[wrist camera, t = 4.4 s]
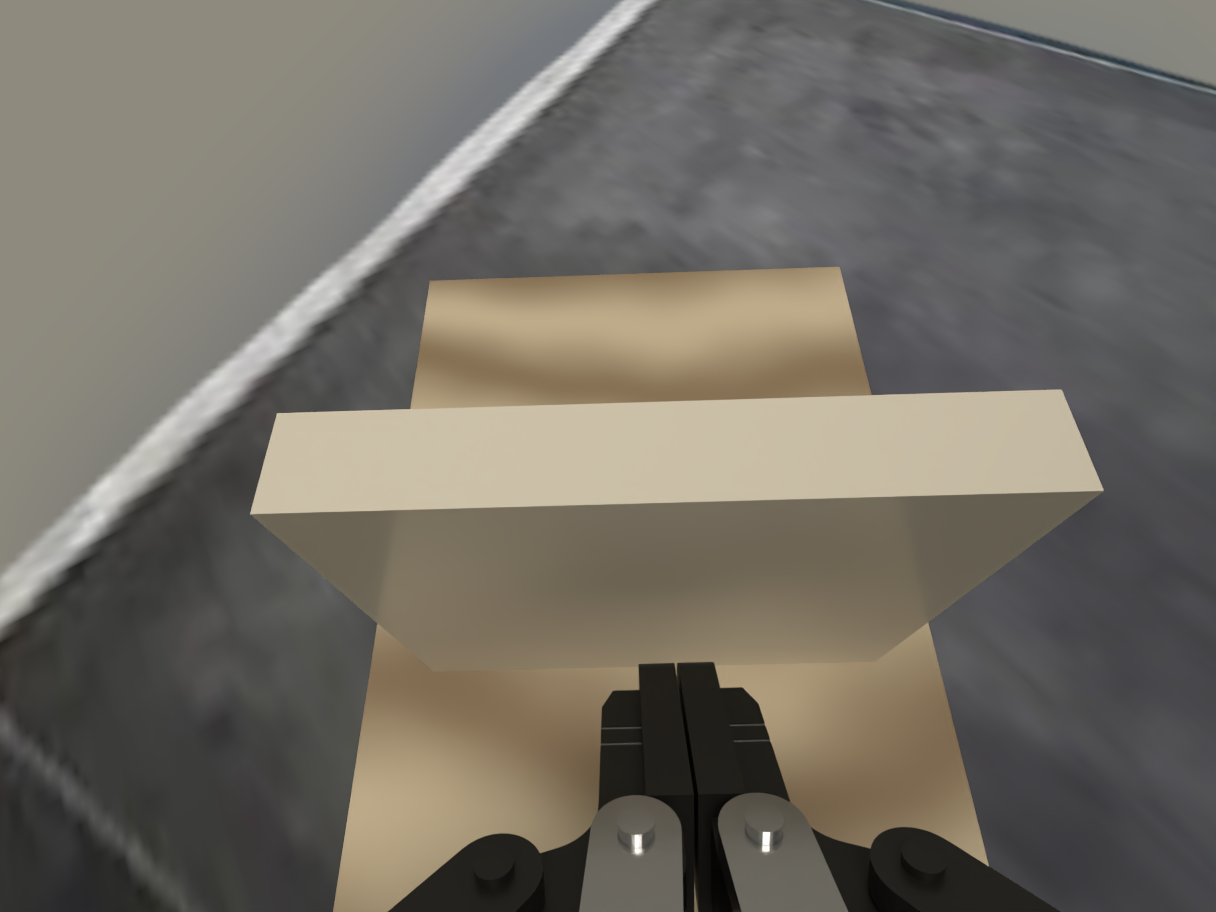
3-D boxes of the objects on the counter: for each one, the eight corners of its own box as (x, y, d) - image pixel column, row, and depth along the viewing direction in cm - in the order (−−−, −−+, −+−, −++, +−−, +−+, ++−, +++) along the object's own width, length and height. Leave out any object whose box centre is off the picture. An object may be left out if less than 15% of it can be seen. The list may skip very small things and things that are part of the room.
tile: (861, 595, 23) (1058, 382, 12) (875, 661, 21) (1103, 491, 11) (440, 605, 23) (279, 406, 12) (433, 671, 22) (250, 514, 11)
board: (438, 304, 31) (430, 280, 30) (830, 291, 31) (839, 266, 30) (348, 937, 20) (327, 944, 18) (980, 928, 19) (1005, 934, 18)
